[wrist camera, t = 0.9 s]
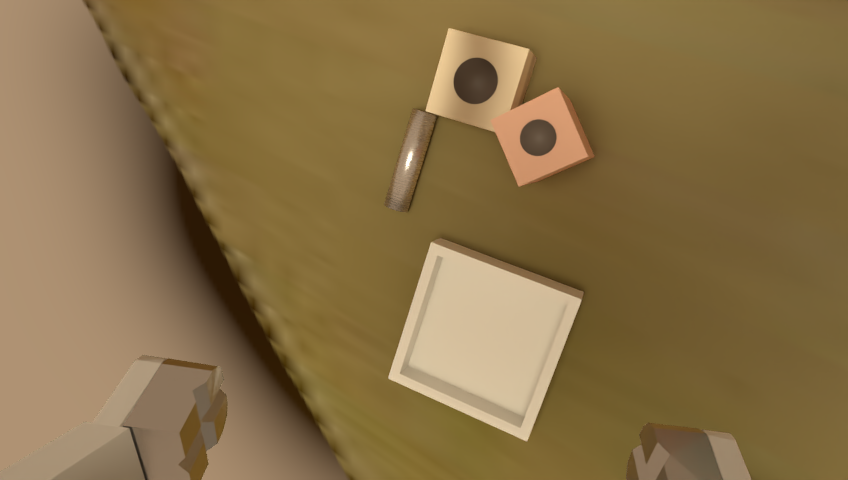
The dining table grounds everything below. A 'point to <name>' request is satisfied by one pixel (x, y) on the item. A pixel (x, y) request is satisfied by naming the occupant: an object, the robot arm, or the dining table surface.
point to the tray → (484, 336)
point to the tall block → (542, 137)
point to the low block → (479, 79)
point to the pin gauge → (410, 160)
